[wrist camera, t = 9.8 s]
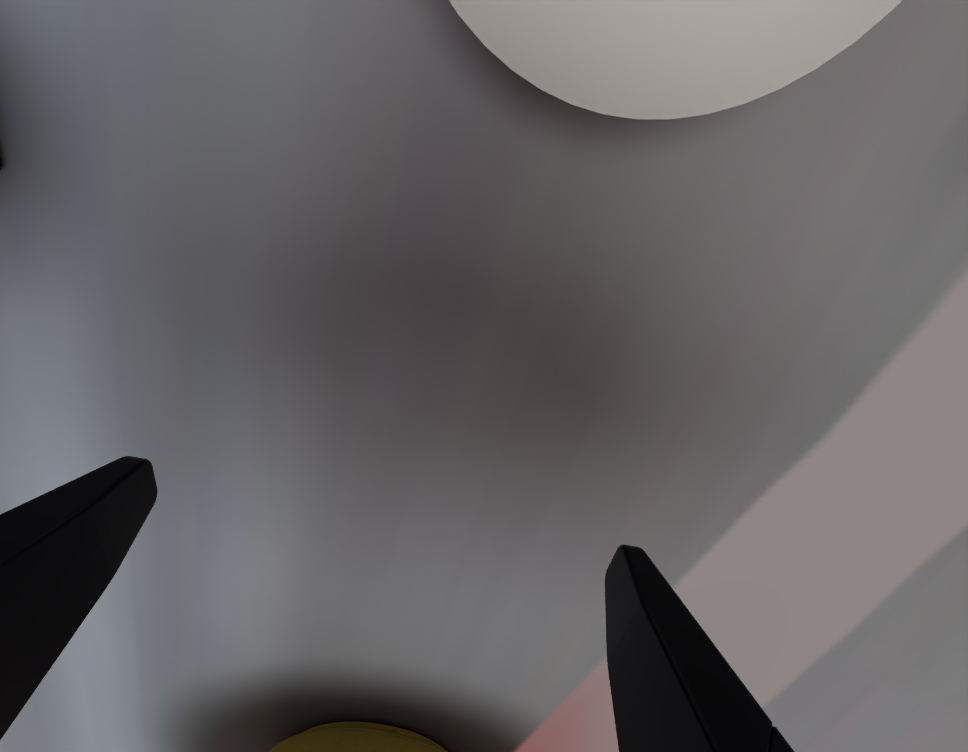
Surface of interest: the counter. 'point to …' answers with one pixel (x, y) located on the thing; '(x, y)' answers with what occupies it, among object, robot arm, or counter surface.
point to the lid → (666, 48)
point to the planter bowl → (357, 739)
